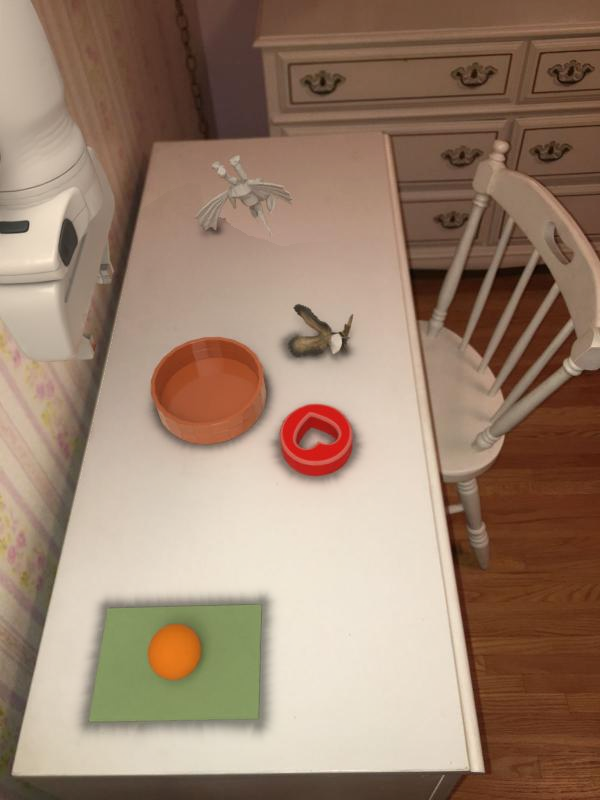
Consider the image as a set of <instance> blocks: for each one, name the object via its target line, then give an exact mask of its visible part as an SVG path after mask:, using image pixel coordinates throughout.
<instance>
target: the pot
mask: <svg viewBox="0 0 600 800" xmlns="http://www.w3.org/2000/svg"><path fill="white" fill-rule="evenodd" d="M263 368H264V367H263V364H262V363H261V361H260V359H259V357H258V355H257V354H256V352H254V351H253V350H252V349H251V348H250V347H249V346H247V345H246V344H244V343H242V342H240V341H237V340H235V339H232V338H228V337H222V336H205V337H203V336H202V337H200V338H195V339H192V340H188V341H186V342H184V343H182V344H180V345H177V346H175V347H174V348H173V349H172V350H170V351H169V352H167V353H166V354H165V355H164V356H163V357H162V358H161V360H160V361H159V362H158V364H157V365H156V366H155V368H154V370H153V373H152V376H151V378H150V396H151V398H152V400H153V403H154V406H155V408H156V411H157V414H158V415H159V419H160V421H161V422H162V424H163V425H164V427H165V428H166V430H168V431H169V432H170V433H171V434H172V435H174V436H175V437H177V438H178V439H180V440H182V441H185V442H187V443H193V444H196V445H197V444H198V445H213V444H219V443H224V442H228V441H230V440H233V439H235V438H237V437H239V436H241V435H242V434H244V433H246V432H247V431H248V430H249V429H250V428H252V427H253V426H254V425H255V423H256V422H257V421H258V420H259V418H260V416H261V414H262V413H263V411H264V408H265V406H266V400H267V391H266V381H265V375H264V370H263Z"/></svg>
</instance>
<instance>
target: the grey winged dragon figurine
mask: <svg viewBox="0 0 600 800" xmlns="http://www.w3.org/2000/svg"><path fill="white" fill-rule="evenodd" d="M241 159H242V157H241V156H240V154H237V155H235V156H234V157H231V158H230V159H229V163H230V167H232V168H233V170H234V171H235V173H236V174H237V176H238V177H239V178H240V180H239V179H238V178H237V177H236V176H235V175H232V176H230V174H228V171H227V170H226V169H225V166H224V165H223V164H221V162H220V161H219V160H217V161H215V162H213V163H212V165H211V167H210V168H211V169H212V170H215V171H216V173H217V175H218V176H219V178H220V179H224V180H225V181H226V182H227V183H228V184H229V185H230V186H229V188H228V189H226V190H224V191H222V192H221V193H219V194H217V195H216V196H214V197H213V198H212V199H211V200H210V201H209V202H207V203H206V204H205V205H204V206H203V207H201V209H200V210H199V211H198V213H197V214H196V215H195V216H194V219H195V220H197V221H198V226H203V228H204V229H205V231H207V230H208V229H210V228H212V229H213V230H214V231H217V228H218V221H219V219H220V215H221V210H222V209H223V207H224V206H225V203H226V202H227V200H229V202H230V204H231V205H232V208H233V209H235V210H236V209H237V199H238V200H240V202H241V203H242V205H244V206H245V207H248V209H249V211H250V214H251V216H252V218H253V219H254V220H256V221H258V222H259V221H260V220H259V217H260V219H261V221H262V222H263V224H264V226H265V228H266V229H267V230H268V233H269V235H270V237H271V239H273V238H274V232H273V231H272V229H271V228H270V226H269V225H268V222H267V217H266V215H265V211H264V208H263V205H262V203H261V202H264V201H265V204H266V205H265V206H266V208H267V210H268V212H269V217H271V216H272V214H273V212H274V211H275V209H276V207H277V201H278V199H280V200H282V201H284V203H285V202H286V203H287V204H290V205H292V206H293V205H294V204H293V202H292V201H295V199H294V198H293V197H292V196H291V195H292V193H291V192H289V191H288V190H286V189H284V188H285V186H284V185H282V184H276V183H272V182H265V181H264V178H263V177H256V178H255V179H254V178H252V179H248V178H249V175H247V173H246V171H245V170H244V168H243V166H242V165H241V163H242V162H243V161H242V160H241ZM272 196H273V197H275V198H272Z"/></svg>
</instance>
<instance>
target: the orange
mask: <svg viewBox="0 0 600 800" xmlns="http://www.w3.org/2000/svg"><path fill="white" fill-rule="evenodd" d="M200 656H201V644H200V641H199V638H198V636H197V635H196V633H195V632H194V631H193V630H192V629H191V628H189V627H187V626H185V625H182V624H171V625H167V626H165V627H163V628H161V629H160V630H159V631H158V632H157V633H156V634H155V635H154V636H153V638H152V640H151V642H150V644H149V648H148V660H149V663H150V666H151V668H152V669H153V671H154V672H155V673H156V674H157V675H159V676H160V677H162V678H164V679H168V680H178V679H181V678H184V677H186V676H187V675H189V674H190V673H191V672H192V671H193V670H194V669H195V668H196V666H197V664H198V662H199V660H200Z"/></svg>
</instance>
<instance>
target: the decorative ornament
mask: <svg viewBox="0 0 600 800" xmlns="http://www.w3.org/2000/svg"><path fill="white" fill-rule="evenodd" d="M310 429H315V430H318V431H321V432H324V433H326V434H327V435H329V436H331V437H332V438H333V439H334V442H330V443H324V442H321V441H320V440H318V441H317V443H316V444H315V445H314V446H312V447H309V448H303V447H301V446H300V445H299V444H300V442H301V440H302V439H303V437H304V436H305V435H306V434H307V432H309V430H310ZM353 434H354V433H353V426H352V424H351V422H350V421H349V419H348V418H347V416H346V415H345V414H344V413H343V412H342V411H340V410H339V409H338V408H335V407H333V406H332V405H327V404H323V403H309V404H304V405H302V406H299V407H298V408H296V409H294V410H293V411H291V412H290V413H289V414H288V415H287V416H286V417H285V418H284V420H283V421H282V424H281V426H280V430H279V443H280V449H281V453H282V456H283V458H284V460H285V462H286V463H287V464H288V465H289V467H290V468H292V469H293V470H294V471H296V472H297V473H299V474H302V475H305V476H311V477H321V476H327V475H329V474H330V475H331V474H333V473H335V472H337V471H338V470H340V469H342V468H343V466H345V464H346V463H347V462H348V461H349V460H350V458H351V455H352V451H353V441H354V440H353V439H354V437H353Z"/></svg>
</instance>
